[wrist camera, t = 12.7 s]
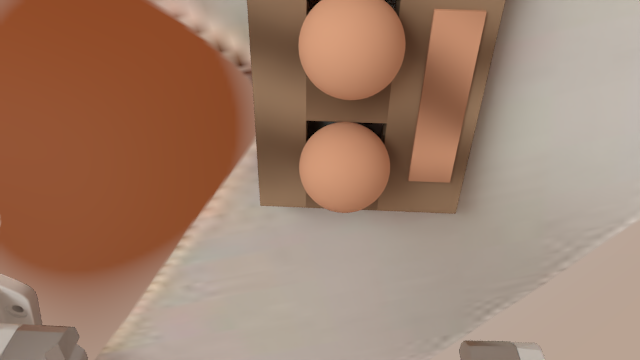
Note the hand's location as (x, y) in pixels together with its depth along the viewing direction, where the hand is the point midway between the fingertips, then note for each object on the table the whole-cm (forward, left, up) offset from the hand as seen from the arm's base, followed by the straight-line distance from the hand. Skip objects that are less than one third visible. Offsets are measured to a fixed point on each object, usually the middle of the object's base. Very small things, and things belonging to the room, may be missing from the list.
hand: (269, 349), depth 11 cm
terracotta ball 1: (0, -2, -17) cm, 17 cm away
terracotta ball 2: (-7, -2, -17) cm, 18 cm away
